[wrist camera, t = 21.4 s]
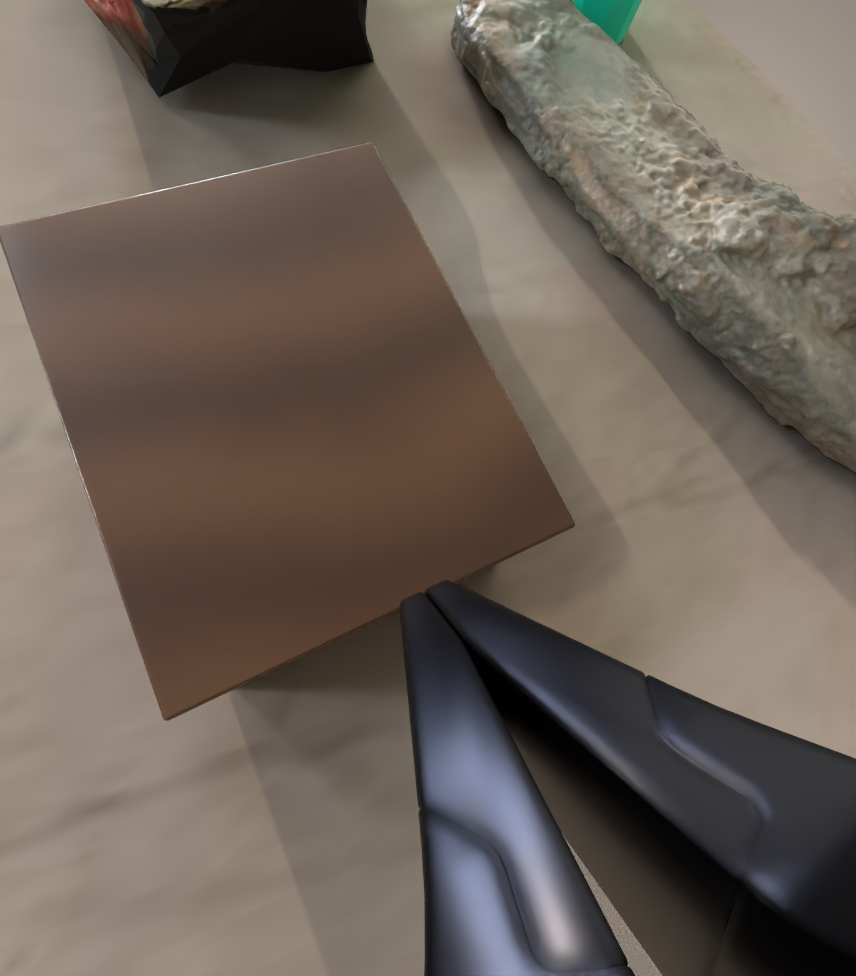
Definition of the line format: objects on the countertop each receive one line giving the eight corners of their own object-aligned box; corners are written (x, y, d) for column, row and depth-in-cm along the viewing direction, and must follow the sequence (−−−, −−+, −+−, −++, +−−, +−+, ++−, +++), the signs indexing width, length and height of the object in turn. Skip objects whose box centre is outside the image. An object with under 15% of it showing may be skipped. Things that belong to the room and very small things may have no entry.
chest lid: (10, 246, 16) (-7, 226, 15) (371, 161, 19) (373, 140, 18) (173, 718, 13) (163, 722, 12) (566, 531, 16) (577, 525, 15)
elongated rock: (523, 20, 34) (402, 83, 32) (547, -88, 29) (406, -22, 27) (956, 418, 28) (847, 531, 26) (1081, 369, 23) (960, 505, 21)
